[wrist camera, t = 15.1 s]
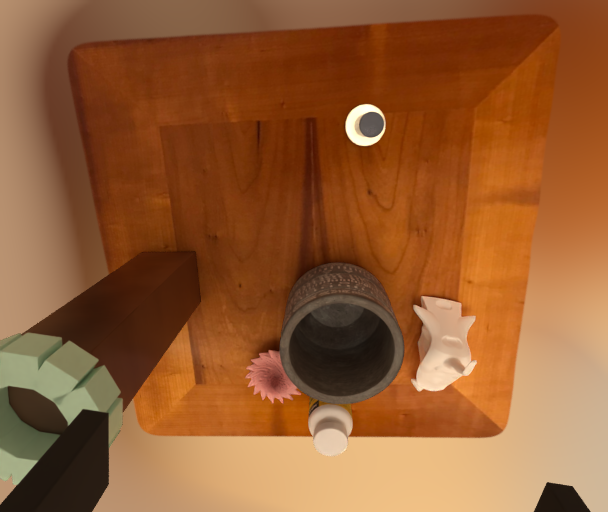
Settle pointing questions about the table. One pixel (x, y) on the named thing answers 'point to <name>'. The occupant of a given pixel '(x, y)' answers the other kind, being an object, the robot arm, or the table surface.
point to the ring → (49, 395)
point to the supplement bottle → (329, 426)
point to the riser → (119, 327)
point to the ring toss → (365, 125)
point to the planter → (340, 335)
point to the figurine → (442, 344)
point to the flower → (270, 377)
